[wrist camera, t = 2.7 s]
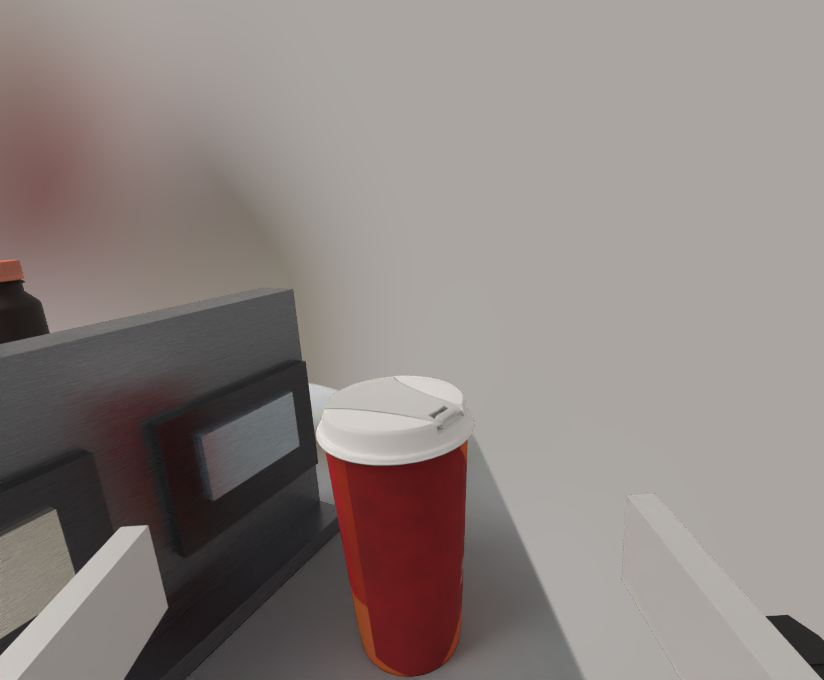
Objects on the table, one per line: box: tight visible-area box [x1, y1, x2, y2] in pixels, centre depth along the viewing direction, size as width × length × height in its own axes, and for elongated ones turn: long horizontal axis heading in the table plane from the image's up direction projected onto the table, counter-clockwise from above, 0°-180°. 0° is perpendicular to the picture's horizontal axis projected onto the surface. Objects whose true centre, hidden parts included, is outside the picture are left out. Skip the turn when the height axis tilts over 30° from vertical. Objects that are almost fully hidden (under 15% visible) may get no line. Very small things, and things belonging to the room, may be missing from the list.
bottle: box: [0, 260, 50, 344], centre depth 55 cm, size 7×7×20 cm
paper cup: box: [316, 376, 474, 677], centre depth 24 cm, size 8×8×14 cm
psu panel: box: [0, 288, 340, 680], centre depth 24 cm, size 8×26×18 cm, turn 150°
